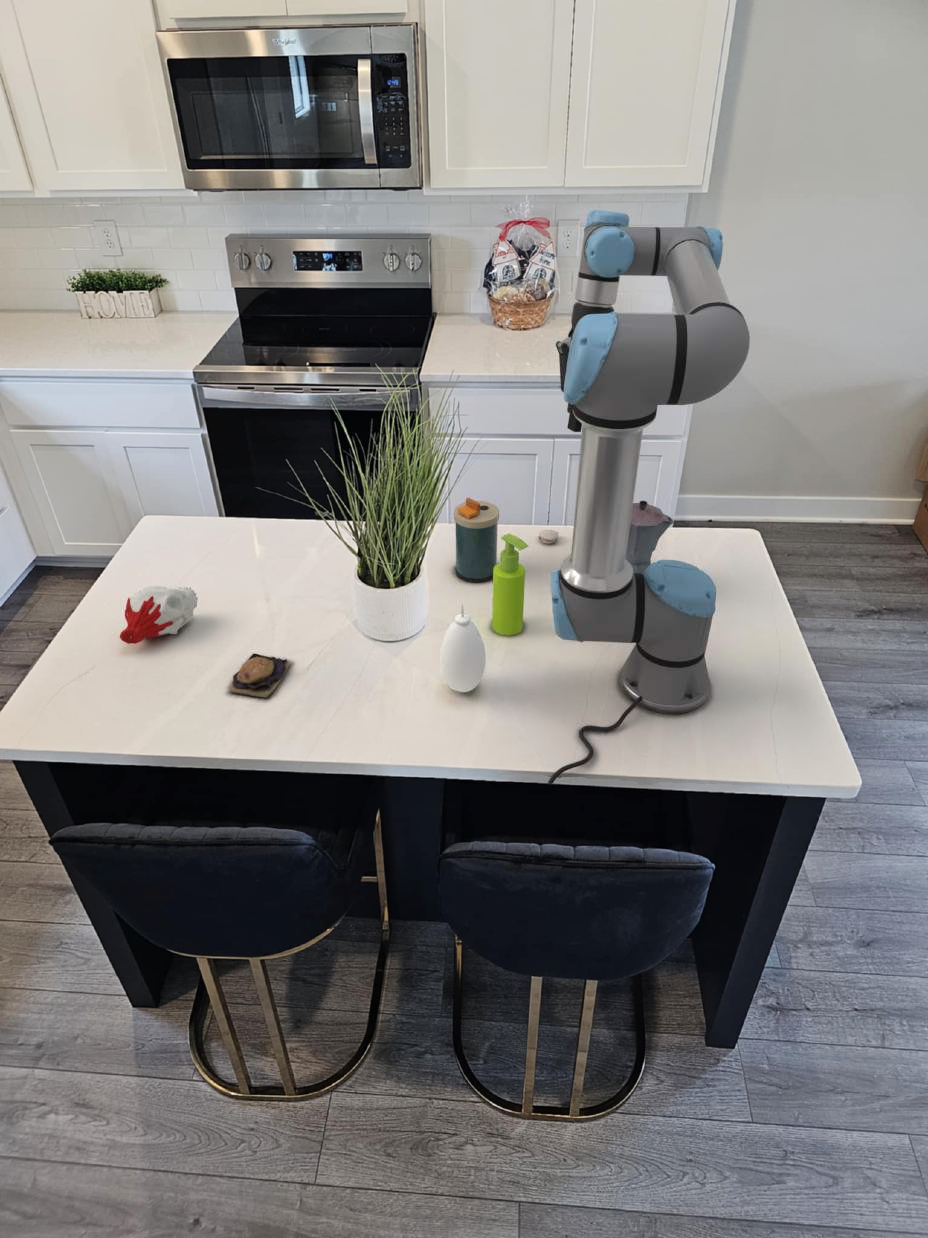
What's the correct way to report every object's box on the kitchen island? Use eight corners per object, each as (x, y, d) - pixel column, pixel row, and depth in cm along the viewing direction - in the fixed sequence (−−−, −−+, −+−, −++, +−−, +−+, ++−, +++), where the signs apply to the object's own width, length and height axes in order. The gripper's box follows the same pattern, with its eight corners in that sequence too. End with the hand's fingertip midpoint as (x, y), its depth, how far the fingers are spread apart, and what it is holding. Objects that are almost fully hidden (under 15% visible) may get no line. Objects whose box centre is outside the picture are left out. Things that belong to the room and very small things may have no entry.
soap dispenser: (509, 642, 160) (512, 550, 149) (486, 625, 165) (487, 535, 153) (532, 630, 163) (537, 540, 152) (508, 614, 168) (511, 525, 156)
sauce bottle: (490, 678, 152) (491, 595, 141) (478, 706, 145) (478, 621, 135) (448, 670, 153) (446, 587, 143) (434, 698, 147) (432, 613, 137)
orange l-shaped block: (468, 507, 173) (468, 497, 172) (480, 513, 171) (480, 503, 169) (457, 511, 171) (457, 501, 170) (469, 518, 169) (468, 508, 168)
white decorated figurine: (205, 613, 168) (162, 665, 157) (156, 602, 171) (111, 652, 160) (193, 578, 162) (148, 629, 151) (143, 567, 165) (95, 617, 154)
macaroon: (534, 540, 191) (535, 530, 190) (551, 533, 194) (551, 523, 192) (547, 547, 189) (548, 537, 187) (564, 540, 191) (564, 530, 190)
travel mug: (478, 555, 186) (478, 496, 178) (506, 572, 180) (508, 511, 172) (445, 570, 181) (444, 509, 173) (474, 588, 176) (474, 526, 167)
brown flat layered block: (269, 701, 147) (266, 684, 145) (225, 693, 149) (221, 676, 147) (294, 663, 155) (292, 647, 153) (252, 656, 157) (249, 640, 155)
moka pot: (662, 603, 170) (676, 515, 159) (585, 595, 173) (594, 508, 161) (663, 578, 178) (676, 492, 166) (589, 571, 181) (597, 486, 169)
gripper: (612, 301, 161) (591, 423, 172) (553, 298, 156) (536, 425, 167) (635, 308, 156) (612, 434, 167) (575, 306, 150) (555, 436, 161)
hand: (574, 429), depth 167 cm, fingers closed
